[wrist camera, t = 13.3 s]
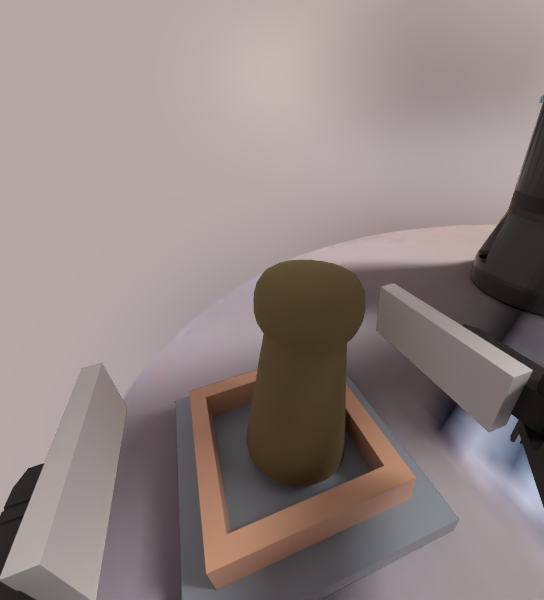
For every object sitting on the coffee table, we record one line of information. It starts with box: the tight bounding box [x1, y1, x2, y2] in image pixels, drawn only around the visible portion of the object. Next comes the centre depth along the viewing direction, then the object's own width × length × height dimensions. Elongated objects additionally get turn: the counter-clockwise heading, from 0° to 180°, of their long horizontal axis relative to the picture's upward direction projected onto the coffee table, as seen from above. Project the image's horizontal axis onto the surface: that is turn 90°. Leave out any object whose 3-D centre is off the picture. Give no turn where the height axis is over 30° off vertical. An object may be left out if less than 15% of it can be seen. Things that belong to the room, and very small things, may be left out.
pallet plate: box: [175, 370, 459, 600], centre depth 17 cm, size 13×13×3 cm
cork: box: [246, 260, 365, 486], centre depth 15 cm, size 6×6×11 cm
